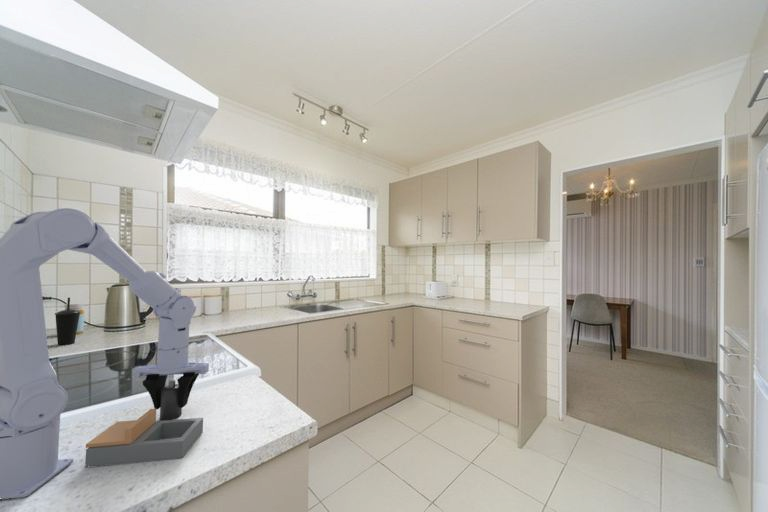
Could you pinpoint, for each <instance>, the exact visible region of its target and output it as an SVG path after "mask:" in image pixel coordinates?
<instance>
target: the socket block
mask: <svg viewBox="0 0 768 512" xmlns="http://www.w3.org/2000/svg"><path fill="white" fill-rule="evenodd" d="M203 433H204V417H195V418H194V417H193V418H192V417H191V418H183V419H182V418H181V419H180V418H179V419H173V420H165V421H161V420H156V422H155V423H154V424H153V425H152V426H150V427H149V428H148V429H147V430H146V431H145V432H144V433H142V434H141V435H140V436H139V437H138V438H137V439H136V440H134V441H133V442H132V443H131V444H122V445H111V446H100V447H88V448H85V464H84V468H85V467H86V468H89V467H88V466H96V467H102V466H103V465H106V466H113V465H114V466H115V465H124V464H136V463H146V462H157V461H165V460H167V461H168V460H177V459H183V458H184V456H185V455H186V454H188V452H189V450H190V449H191V448H192V447H193V445H194V444H195V443H196V441H197V440H198V439H199V438H200V436H201V435H202V434H203ZM103 467H104V466H103Z"/></svg>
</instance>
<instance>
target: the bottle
mask: <svg viewBox="0 0 768 512" xmlns="http://www.w3.org/2000/svg"><path fill="white" fill-rule="evenodd" d="M69 309H73V310H78V311H81V313H80V316H79V321H78V327H77V332H76V334H77V335H80V333H81V334H82V333H84V326H85V324H84V323H85V311H84V302H70V308H69ZM64 310H67V303H65V305H64Z"/></svg>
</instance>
